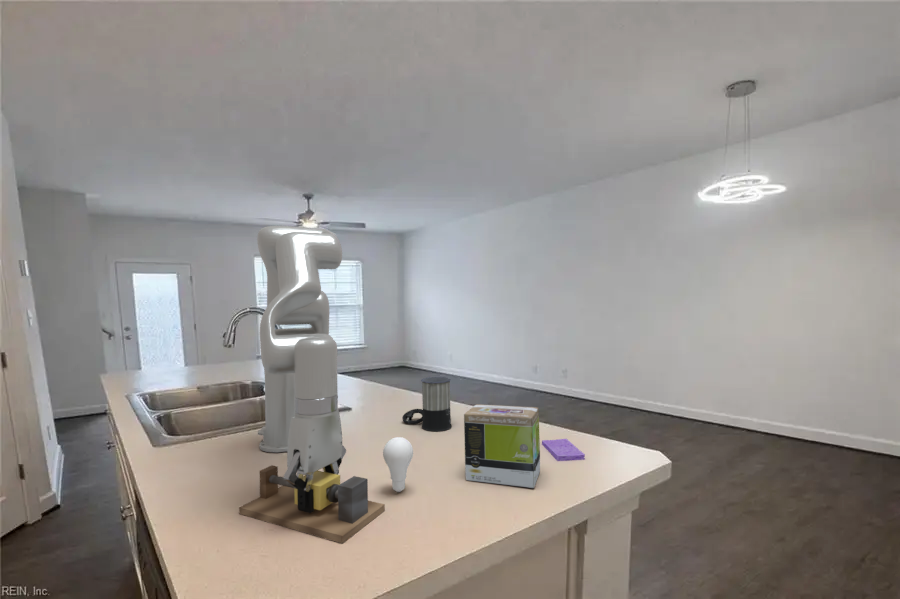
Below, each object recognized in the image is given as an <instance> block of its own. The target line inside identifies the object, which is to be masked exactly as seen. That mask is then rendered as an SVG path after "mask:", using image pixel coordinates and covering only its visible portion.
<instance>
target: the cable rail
mask: <svg viewBox="0 0 900 599" xmlns="http://www.w3.org/2000/svg"><path fill="white" fill-rule="evenodd" d="M278 469H279V466H276V465H272V464H271V465H269V466H267V467H265V468H263V469H260V470H259V497H257V498H255V499H253V500H250V501H249V502H247V503H245V504H243V505H241V506H239V508H238V513H239V515H241V516H244V517H249V518H252V519H255V520H260V521H264V522H266V523H270V524H274V525H277V526H280V527H283V528H287V529H292V530H294V531H297V530H298V531H297V532H301V531H302V532H301V533H304V532H305V534H308V535H311V536H315V537H318V536H319V537H318V538H322V539H325V538H326V540H329V541H333V542H336V543H340V544H344V543H345V542H347V541H348V540H349V539H350V538H352V537H353V536H354V535H356V534H357V533H358V532H359V531H361V530H362V529H363V528H365V527H366V526H367V525H369V524H370V523H371V522H373V520H375V519H377V517H379V516H380V515H381V514H382V513H383V512H385V511H386V510H385V509H386V505H385V504H384V503H381V502H376V501H372V500H369V496H368V495H369V494H368V493H369V492H368V491H369V490H368V486H369V485H368V483H369V482H368V478H365V477H361V476H360V477H359V476H356V475H354V476H351V477H350V478H348V479H347V480H344V481H343V482H342V483H341V482H340V485H338V484H333V485H332V486H331V487H330V488H329V487H328V488H326V496H327V497H328V500H329V501H330V502H333V503H331V504H330V505H328V506H326V507H325V508H323V509H322V510H317V509H314V510H313V512H311V513H308V512H304V511H300V510H298V505H297V504H295V492H294V486H293V485H291V484H290V483H289V482H288V481H286V480H284V476H279V470H278Z"/></svg>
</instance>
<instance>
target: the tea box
mask: <svg viewBox="0 0 900 599" xmlns="http://www.w3.org/2000/svg"><path fill="white" fill-rule="evenodd" d="M539 412H540V411H539V407H536V406H520V405H519V406H517V405H501V404H498V405H497V404H480V403H479V404H477V403H476V404H475V405H473V406H472V407H471V408H470V409H468V410H467V411H466V412H465V413H464V414H463V426H464V428H463V429H464V433H463V435H464V436H463V437H464V465H465V466H464V470H465V471H464V472H465V480H466V481H470V482H471V481H472V482H480V483H487V484H488V483H489V484H496V485H497V484H498V485H505V486H514V487H522V488H530V489H534V488H535V487H536V484H537V480H538V477H539V476H540V471H541V448H540V447H541V445H540V444H541V442H540V416H539V414H540V413H539Z"/></svg>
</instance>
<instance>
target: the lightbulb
mask: <svg viewBox="0 0 900 599" xmlns="http://www.w3.org/2000/svg"><path fill="white" fill-rule="evenodd" d="M382 450H383V451H382V456H383V459H384V462H385V464H386V465H387V467H388V469H389V473H390V479H391V485H392V486H391V487H392V490H393V491H396V492H397V493H400V492H402V491H403V490H404V489H406V479H407V473H408V472H407V471H408V468H409V466H410V463H411V461H412V459H413V456H414V448H413V446H412V443H411V442H410V441H409V440H408V439H407V438H405V437H402V436H401V437H400V436H396V437H393V438H391V439H390V440H388V441H387V442H386V444H385V445H384V447H383V449H382Z"/></svg>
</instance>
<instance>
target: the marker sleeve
mask: <svg viewBox="0 0 900 599" xmlns="http://www.w3.org/2000/svg"><path fill="white" fill-rule="evenodd" d="M305 480H306V475H303V481H305ZM333 484H338V485H340V484H341V475H340V474H338V475H337V474H332V473H327V472H324V471H321V470H318V471H316V472H314V474H313V479H312V484H311V489H313V500H314V509H317V510H322V509H323V508H325V507H326V506H328V505H330V504H331V503H333V502H330V501H329V500H328V497H327V496H326V488H328V487H329V488H330V487H331V486H332V485H333ZM294 492H295V504H297V505H298V492H297V489H295V488H294Z"/></svg>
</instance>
